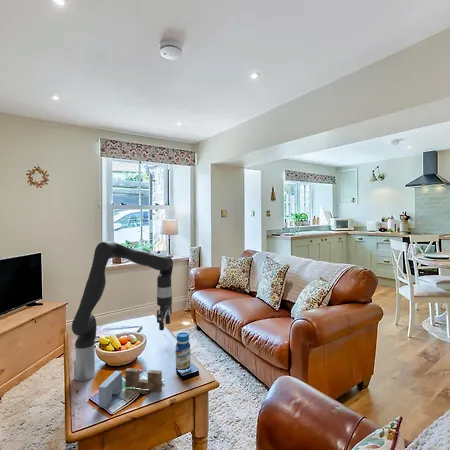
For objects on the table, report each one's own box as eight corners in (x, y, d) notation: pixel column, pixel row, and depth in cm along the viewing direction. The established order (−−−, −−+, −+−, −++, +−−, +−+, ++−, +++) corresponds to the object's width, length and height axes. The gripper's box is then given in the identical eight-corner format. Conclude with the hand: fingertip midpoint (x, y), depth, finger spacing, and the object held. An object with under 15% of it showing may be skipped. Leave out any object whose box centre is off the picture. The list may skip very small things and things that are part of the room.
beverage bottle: (190, 365, 164) (190, 331, 164) (191, 373, 156) (190, 336, 156) (175, 367, 163) (175, 332, 163) (175, 374, 155) (174, 337, 155)
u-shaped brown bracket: (125, 388, 142) (125, 370, 142) (127, 385, 145) (127, 368, 145) (159, 391, 139) (159, 373, 139) (161, 388, 142) (161, 370, 142)
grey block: (98, 406, 129) (98, 386, 129) (115, 388, 142) (115, 370, 142) (106, 407, 128) (105, 387, 128) (122, 389, 142) (122, 371, 142)
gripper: (162, 291, 154) (163, 321, 154) (151, 298, 140) (152, 331, 140) (176, 292, 153) (176, 322, 153) (166, 299, 138) (166, 332, 139)
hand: (164, 326), depth 146 cm, fingers open, 8 cm apart
